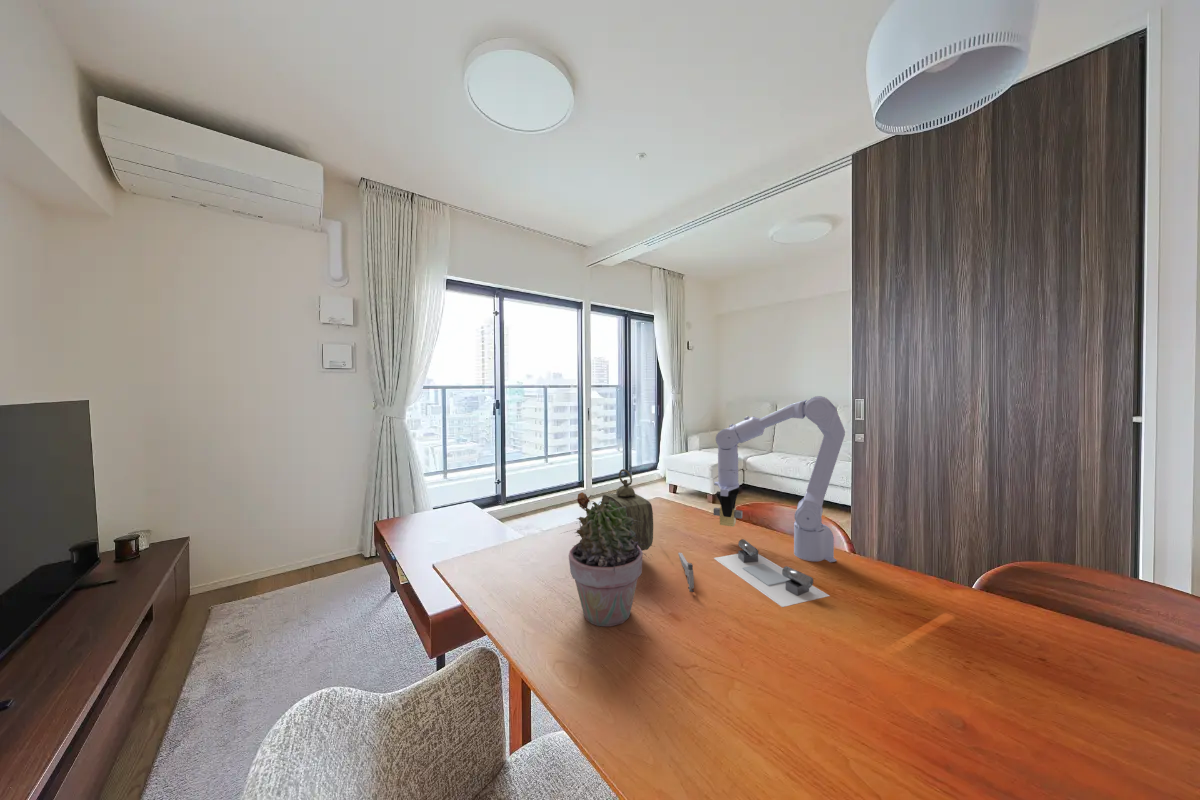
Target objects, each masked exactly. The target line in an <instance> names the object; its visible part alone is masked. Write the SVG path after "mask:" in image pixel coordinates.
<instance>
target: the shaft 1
mask: <svg viewBox="0 0 1200 800" xmlns="http://www.w3.org/2000/svg"><path fill="white" fill-rule="evenodd" d="M738 547H739V548H741V550H737V552H738V553H737V554H738V558H739V559H740V560H741V561H742V562H743V563H748V562H758V554H759V550H758V548H756V547H755V546H754V545H752V544H751V543H750V542H748V541H747V540H746V539H745V538H741V539H740V540H739V541H738Z"/></svg>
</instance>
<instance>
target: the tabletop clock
mask: <svg viewBox="0 0 1200 800" xmlns="http://www.w3.org/2000/svg"><path fill="white" fill-rule="evenodd" d="M623 472H624V473H626V474H627V475H628V477H629V479H630V480H629V481H630V482H629V483H628V479H624V480H623V479H622V473H623ZM618 478H619V480H620V482H621V484H623V485H621V486H619V487H618V488H617V490H616V492H615V493H610V494H603V495H602V497H601V501H602V500H603V502H604V503H605V504H606V505H607V504H609V500H612V501H614V502H615V504H616V506H617V507H624V506H625V507H626V508H627V509H626V513H627V517H631V518H633V520H634V521H633V523H636V524H632V525H633V526H630V529H631V530H632V531H634V532H635V533H636V535H635V536H637V537H636V538H635V537H633V538H632V540H633V541H634V542H637V541H638V544H645V545H638V546H639V547H640V549H641V550H642V552H643V551H647V550H649V549H650V547H651V546H650V545H652V546H653V543H654V512H653V506H652V503H651V502H650V501H649V500H648V499H646V498H644V497H643V496H641V495H638V494H636V493H635V490H634V489H633V487H631V485H632V484H633V478H632V475H631V473H630V472H629V470H627V469H625V468H622V469H621V470H619V473H618ZM635 520H637V521H635ZM640 521H642V522H640ZM646 522H647V523H646ZM639 524H640V525H639ZM642 525H643V526H642ZM639 537H640V538H639ZM638 539H639V540H638Z"/></svg>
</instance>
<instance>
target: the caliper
mask: <svg viewBox="0 0 1200 800" xmlns="http://www.w3.org/2000/svg"><path fill="white" fill-rule="evenodd" d="M677 553H678V556H679V560H680V562H681V565H682V567H683V569H684V574H685V576H686V577H687V579H686V580H687V584H688V587H687V589H688V590H689V593H693V592H694V588H695V583H694V582H695V577H694V569H693V565H694V564H692V563H691V562H688V560H686V557H685V555H684V554H683V552H677Z"/></svg>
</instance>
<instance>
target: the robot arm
mask: <svg viewBox="0 0 1200 800" xmlns="http://www.w3.org/2000/svg"><path fill="white" fill-rule="evenodd" d="M805 417H806V418H807V419H808V420H809V421H810V422H812V423H813V424H815V425H816V426H817V428H818V430H819V431H820V432H821V433H822V434H823V438H822V440H821V444H820V447H819V450H818V452H817V453H818V454H817V455H816V459H815V462H814V466H813V469H812V472H811V475H810V477H809V481H808V484H807V487H806V489H805V490H806V491H805V493H804V496H803V498H801V500H799V501H798V503H797V507H796V509H795V513H794V517H793V518H794V523H793V555H794V556H795V557H797V558H799V559H801V560H804V561H808V562H821V561H823V560H826V561H827V562H829V563H835V562H837V559H836V558H835V557H834V556H835V555H834V554H835V551H834V549H835V548H834V546H835V545H834V543H835V537H834V533H833V531H832V530H831V528H830V527H829V526H828V525H826V524H824V523H822V515H823V511H824V510H823V504H824V500H825V497H826V494H827V490H828V488H829V485H830V483H831V482H830V481H831V479H832V478H831V477H832V476H833V472H834V469H835V466H836V463H837V460H838V457H839V454H840V451H841V449H842V444H843V443H844V442H843V441H844V439H845V435H846V430H845V428H844V425H843V423H842V420H841V417H840V415H839V413H838V409H837V407H836V406H835V405H834V404H833V403H832V402H831V400H829V399H828V398H827V397H825V396H821V395H817V396H813V397H811V398H810V399H804V400H800V401H796V402H794V403H791V404H787V405H786V406H784V407H782V408H780V409H778V410H775V411H773V412H771V413H768V414H767V415H764V416H763V417H761V418H760V417H756V416H749V415H747V416H745V417H744V418H743V420H741V421H739V422H737V423H735V424H734V423H731V424H729V426H728V427H726V428H723V429H721V430H719V431H718V432H717V434H716V436H715V443H716V444H717V451H718V452H717V472H718V473H717V475H718V476H717V481H714V483H713V486H718V488H719V490H720V491H719V490H718V491H716V493H715V495H716V497H717V499H718V501H719V504H720V507H721V508H722V512H723V516H725V517H731V515H732V510H733V506H736V503H737V502H736V501H737V498H738V495H739V492H740V490H741V488H740V483H739V452H738V451H739V450H738V447H739V446H738V444H743V443H745V442H748V441H751V440H752V439H753V440H754V439H755V438H757V437H760V436H762V435H763V434H764V431H765V430H766V428H769V427H771V426H774V425H776V424H779V423H782V422H785V421H787V420H790V419H801V420H802V419H805Z"/></svg>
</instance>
